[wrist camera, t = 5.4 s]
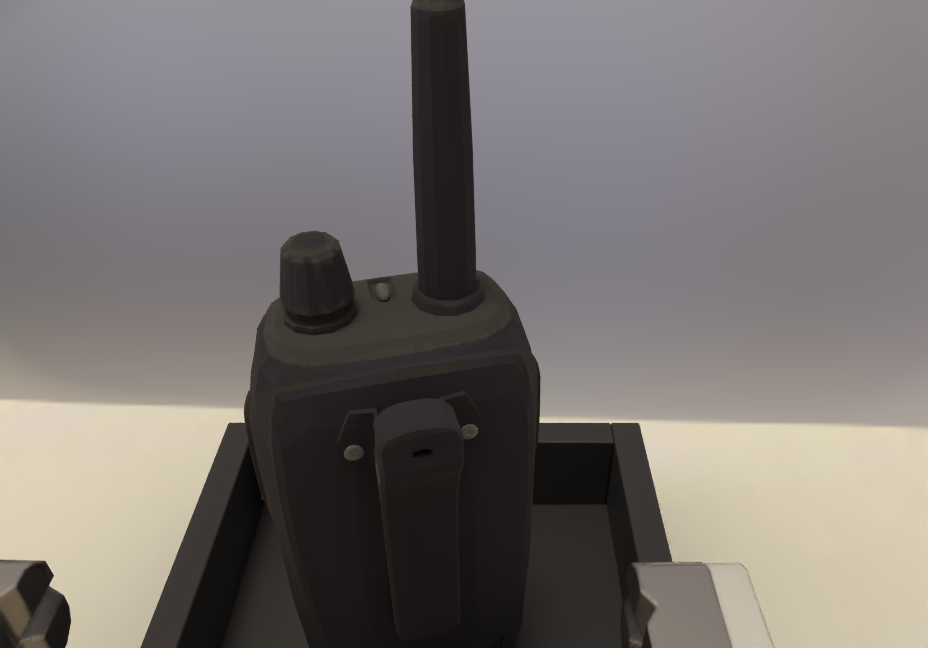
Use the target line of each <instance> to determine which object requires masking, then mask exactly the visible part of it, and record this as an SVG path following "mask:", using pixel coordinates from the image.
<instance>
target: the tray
mask: <svg viewBox="0 0 928 648" xmlns="http://www.w3.org/2000/svg"><path fill="white" fill-rule="evenodd" d="M261 496H262V495H261V492H260V489H259V485H258V481H257V477H256V473H255V469H254V465H253V461H252V457H251V452H250V447H249V441H248V436H247V431H246V425H245V423H229V424H228V426H227V429H226V431H225V434H224V436H223V439H222V441H221V444H220V446H219V449H218V452H217V454H216V457H215V459H214V462H213V464H212V467H211V469H210V472H209V475H208V477H207V480H206V482H205V485H204V487H203V490H202V492H201V495H200V497H199V500H198V503H197V505H196V508H195V510H194V513H193V515H192V518H191V520H190V523H189V525H188V528H187V531H186V533H185V536H184V538H183V541H182V543H181V546H180V548H179V551H178V553H177V556H176V559H175V561H174V564H173V566H172V569H171V571H170V574H169V576H168V579H167V582H166V584H165V587H164V589H163V592H162V594H161V597H160V599H159V602H158V604H157V607H156V610H155V612H154V615H153V617H152V620H151V622H150V625H149V627H148V630H147V632H146V635H145V638H144V640H143V643H142V645H141V648H309V646H308V643H307V640H306V636H305V633H304V630H303V627H302V624H301V621H300V619H299V616H298V613H297V611H296V607H295V603H294V600H293V596H292V593H291V589H290V585H289V581H288V577H287V572H286V568H285V564H284V560H283V556H282V552H281V548H280V544H279V540H278V536H277V531H276V527H275V524H274V521H273V519H272V517H271V514H270V512H269V509H268V507H267V504H266V502H265V501H263V500H262V499H261ZM649 562H672V558H671V554H670V550H669V546H668V542H667V538H666V533H665V529H664V525H663V521H662V517H661V513H660V508H659V504H658V500H657V496H656V492H655V488H654V484H653V479H652V475H651V471H650V467H649V463H648V459H647V455H646V450H645V446H644V442H643V438H642V434H641V430H640V425H639V423H611V425H610V423H539V434H538V447H537V448H536V449H535V463H534V484H533V503H532V523H531V542H530V554H529V563H528V570H527V577H526V585H525V594H524V602H523V617H522V624H521V626H520V629H519V632H518V635H517V637H516V640H515V642H514V648H622V643H621V634H620V632H621V608H622V601H623V598H625V597H626V596H627V595H629V591H628V585H627V579H626V578H627V573H628V568H629V566H630V565H631V563H649Z"/></svg>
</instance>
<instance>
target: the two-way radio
mask: <svg viewBox="0 0 928 648" xmlns="http://www.w3.org/2000/svg"><path fill="white" fill-rule="evenodd" d="M465 17H466V16H465V2H464V0H413V1H412V4H411V55H412V119H413V164H414V186H415V187H414V188H415V211H416V212H415V213H416V237H417V261H418V273H411V274H403V275H395V276H387V277H380V278H373V279H366V280H360V281H354V282H352V280H351V277H350V274H349V271H348V268H347V265H346V262H345V259H344V256H343V253H342V250H341V247H340V244H339V241H338V240H337V239H335V238H334V237H333V236H331V235H329V234H328V233H326V232H318V231H311V232H302V233H299V234H297V235H294V236H292V237H290V238H289V239H288V240H287V241H286V242H285V243H284V245H283V246H282V247H281V254H280V298H278V299H277V300H275V301H274V302H272V303H271V305H270V306H269V308H268V310H267V311H266V313H265V315H264V317H263V318H262V321H261V322H260V324H259V326H258V328H257V335H256V344H255V351H254V357H253V363H252V369H251V384H250V385H251V386H250V391H248V394H247V397H246V401H245V406H244V418H245V425H246V431H247V436H248V441H249V447H250V452H251V457H252V461H253V465H254V469H255V473H256V477H257V481H258V485H259V489H260V492H261V495H262V496H261V499H262V500H263V501H265V502H266V504H267V507H268V509H269V512H270V514H271V517H272V519H273V521H274V524H275V527H276V531H277V536H278V540H279V544H280V548H281V552H282V556H283V560H284V564H285V568H286V572H287V577H288V581H289V585H290V589H291V593H292V596H293V600H294V603H295V607H296V611H297V613H298V616H299V619H300V621H301V624H302V627H303V630H304V633H305V636H306V640H307V643H308V646H309V648H514V642H515V640H516V637H517V635H518V632H519V629H520V626H521V624H522V617H523V602H524V594H525V585H526V577H527V570H528V563H529V554H530V542H531V523H532V503H533V484H534V463H535V449H536V448H537V447H538V434H539V416H540V372H539V366H538V363H537V361H536V359H535V357H534V356H533V354H532V353H531V348H530V345H529V342H528V339H527V337H526V334H525V331H524V328H523V326H522V323H521V320H520V318H519V315H518V312H517V310H516V308H515V306H514V305H513V304H512V302H511V301H510V299H509V298H508V297H507V295H506V294H505V292H504V291H503V290H502V289H501V288H500V287H499V286H498V284H497V283H496V282H495V281H494V280H493V279H491V278H490V277H489V276H488V275H486V274H485V273H484V272H481V271H477V270H476V245H475V212H474V182H473V181H474V178H473V146H472V128H471V110H470V90H469V72H468V55H467V54H468V53H467V35H466V18H465Z"/></svg>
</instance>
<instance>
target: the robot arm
mask: <svg viewBox="0 0 928 648" xmlns="http://www.w3.org/2000/svg"><path fill="white" fill-rule="evenodd" d="M53 576H54V575H53V573H52V572H51V570H50V568H49V567H48V565H47V563H46V561H32V560H0V648H65V646H66V644H67V640H68V635H69V630H70V624H71V617H70V609H69V605H68V603H67V601H66V599H65V597H64V595H62V594H61V593H59V592H58V591H56V590H55V589H53V588H51V587H50V586H49V584H50V582H51V580H52V578H53ZM626 579H627V585H628V591H629V595H627V596H626V597H625V598H623V601H622V608H621V632H620V634H621V643H622V648H774V645H773V642H772V639H771V636H770V633H769V631H768V628H767V625H766V622H765V619H764V616H763V613H762V611H761V608H760V605H759V602H758V599H757V596H756V594H755V591H754V588H753V585H752V582H751V579H750V576H749V574H748V571H747V569H746V568H745V567H744V566H743V565H742V564H741V563H702V562H649V563H631V565H630V566H629V568H628V573H627V578H626Z"/></svg>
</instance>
